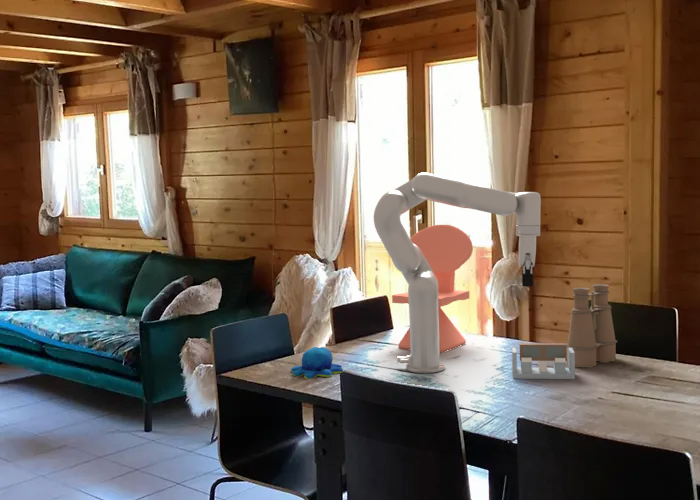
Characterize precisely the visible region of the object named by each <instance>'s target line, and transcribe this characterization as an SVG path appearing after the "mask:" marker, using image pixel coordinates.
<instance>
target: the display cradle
mask: <svg viewBox="0 0 700 500" xmlns="http://www.w3.org/2000/svg"><path fill="white" fill-rule="evenodd" d="M521 360H522V361H520V367H519V366H518V367H517V365H518V361H517V348H516V347H511V370H512V372H511V373H512V379H525V380H526V379H530V380H531V379H533V380H534V379H538V380H543V379H544V380H575V379H576V370H575V369H576V367H575V353H574V351H573V349H572V348H568V357H567V362H568V365H567V366H568V367H566V361H565V358H555V361H553V367H548V361H537V362H538V363H537V364H538V367H533V366H532V364H533V362H532V358H521Z"/></svg>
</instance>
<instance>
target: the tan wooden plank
mask: <svg viewBox="0 0 700 500" xmlns="http://www.w3.org/2000/svg"><path fill="white" fill-rule="evenodd" d="M566 344H567V343H566V342H564V343H563V342H561V343H560V342H556V343H555V342H554V343H553V342H550V343H549V342H519V345H518V346H519V361H520V362H521V361H522V360H521V358H532V361H534V362H535V361H537V362H538V361H547V362H552V361H553V362H554V361H555V358H565V362H568V357H567V345H566Z"/></svg>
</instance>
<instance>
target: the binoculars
mask: <svg viewBox="0 0 700 500" xmlns="http://www.w3.org/2000/svg"><path fill="white" fill-rule="evenodd" d="M609 287H610V285H609V284H605V283H604V284H603V283H598V284H597V283H596V284H592V288H593V291H591V292H590V288H589V287H573V288H572V291H573V294H572V297H573V298H574V299H573V303H574V304H573V305H574V306H573V308H572V309H571V310H570V313H571V314H570V321H569V329H568V335H567V336H568V338H567V343H566V345H567V358H568V348H572V349H573V351H574V353H575V368H577V367H591V368H593V367H592V366H595V367H597V366H598V365H597V364H598V362H596V361H600V362H599V363H610V362H609V361H613V362H615V361H617V356H616V353H617V352H616V347H617V346H616V343H618V340H617V339H616V335H615V329H614V323H613V316H612V306H611V304H609V294H610V291H609ZM589 292H590V293H589ZM590 297H591V298H590ZM589 298H590V299H591V303H590V304H591V306H590V307H589ZM614 360H615V361H614ZM601 361H602V362H601ZM566 364H568V361H566ZM596 365H597V366H596Z"/></svg>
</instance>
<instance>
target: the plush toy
mask: <svg viewBox="0 0 700 500" xmlns="http://www.w3.org/2000/svg"><path fill="white" fill-rule="evenodd" d="M341 371H343V372H344V369H343V368H342V365H341V364H336V363H333V354H332V352H331V350H329V349H328V348H327V347H323V346H322V347H319V346H318V347H317V346H314V347H311V348H309V349H307V350H306V351H305V352H304V353H303V354H302V357H301V365H297V366H293V367H292V368H291V369H290V372H291V373H292V376H293V377H303V379H306V380H307V379H308V380H310V379H314V378H316V377H318V376H319V377H322V378H323V377H324V378H325V377H329V378H330V377H333V374H334V375H335V374H340V372H341ZM341 373H342V372H341Z"/></svg>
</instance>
